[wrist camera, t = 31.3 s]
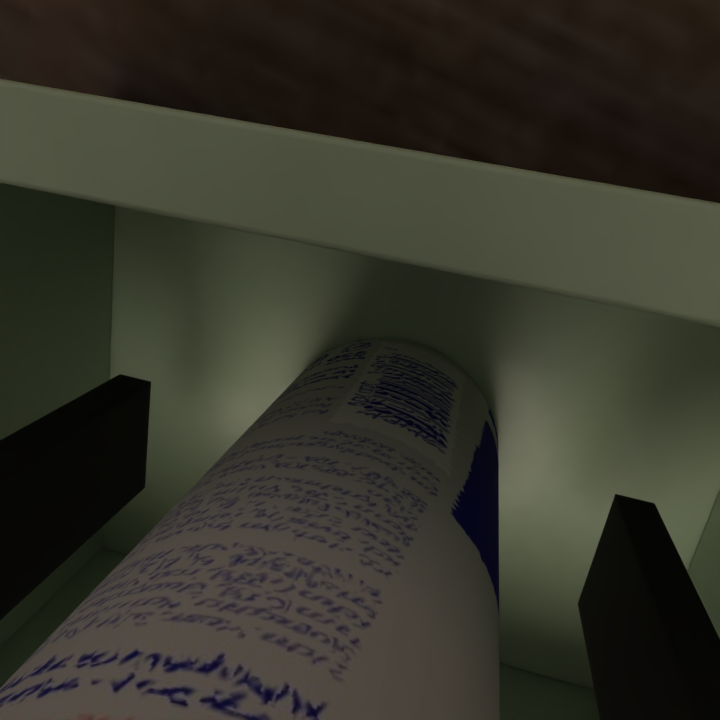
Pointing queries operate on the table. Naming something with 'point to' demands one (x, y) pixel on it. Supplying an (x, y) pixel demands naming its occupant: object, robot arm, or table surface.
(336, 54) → the table surface
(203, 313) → the chest
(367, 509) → the beverage can
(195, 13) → the table surface
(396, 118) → the table surface
